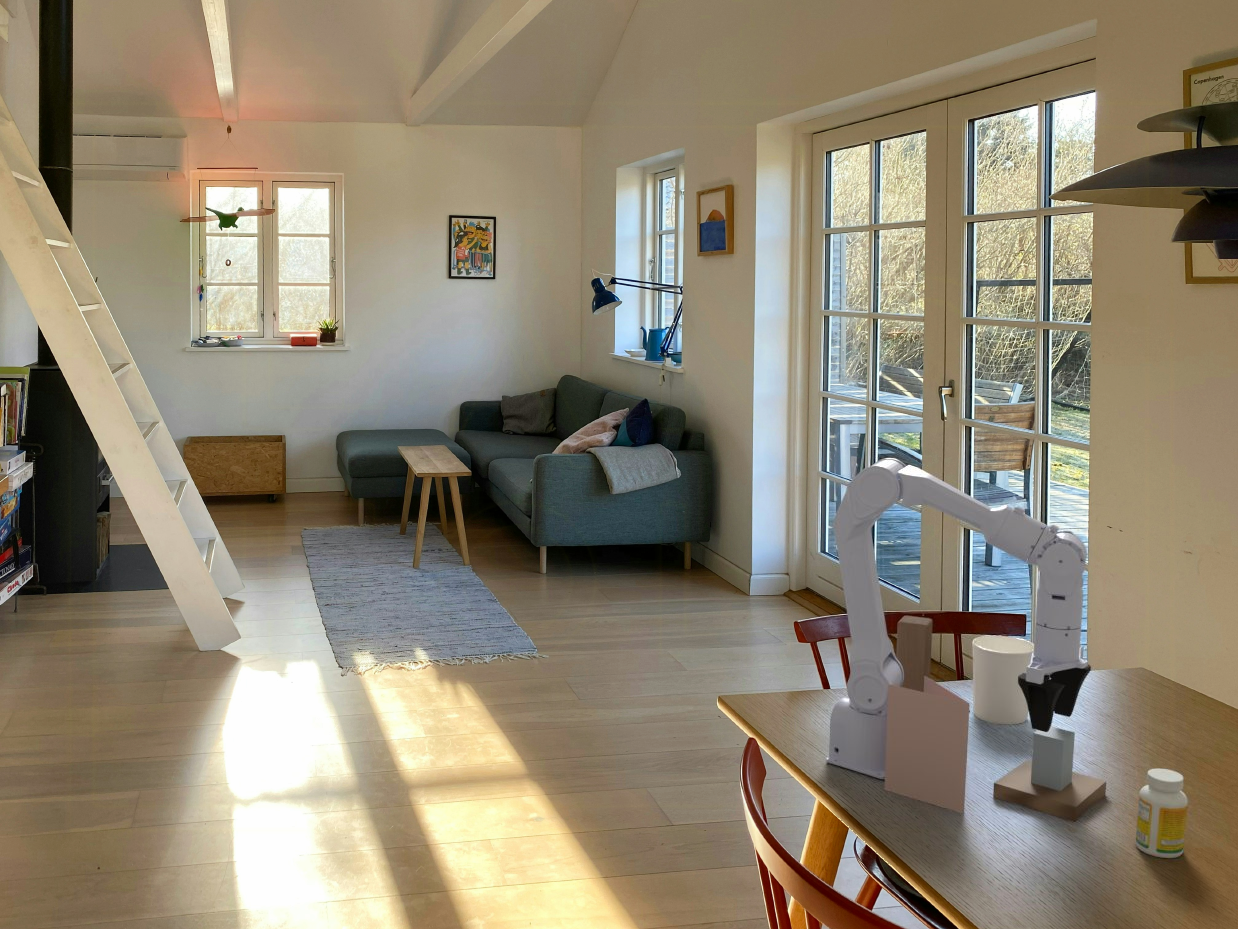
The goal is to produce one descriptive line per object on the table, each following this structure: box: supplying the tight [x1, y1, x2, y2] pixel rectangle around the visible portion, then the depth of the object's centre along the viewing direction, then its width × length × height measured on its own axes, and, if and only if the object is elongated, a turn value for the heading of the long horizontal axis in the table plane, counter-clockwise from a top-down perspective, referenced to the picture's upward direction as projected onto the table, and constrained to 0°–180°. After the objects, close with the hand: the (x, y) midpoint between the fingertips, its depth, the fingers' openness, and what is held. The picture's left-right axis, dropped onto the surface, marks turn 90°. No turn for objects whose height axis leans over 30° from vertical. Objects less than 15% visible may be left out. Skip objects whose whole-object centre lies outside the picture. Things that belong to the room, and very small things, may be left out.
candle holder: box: [971, 635, 1034, 726], centre depth 187 cm, size 10×10×12 cm
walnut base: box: [992, 759, 1107, 822], centre depth 157 cm, size 11×11×2 cm
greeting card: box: [884, 676, 971, 814], centre depth 155 cm, size 11×7×15 cm, turn 15°
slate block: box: [1031, 726, 1076, 791], centre depth 156 cm, size 4×4×7 cm
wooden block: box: [895, 615, 933, 692], centre depth 178 cm, size 9×4×18 cm, turn 64°
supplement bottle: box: [1135, 768, 1189, 859], centre depth 141 cm, size 5×5×10 cm
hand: (1051, 722), depth 156 cm, fingers open, 7 cm apart
